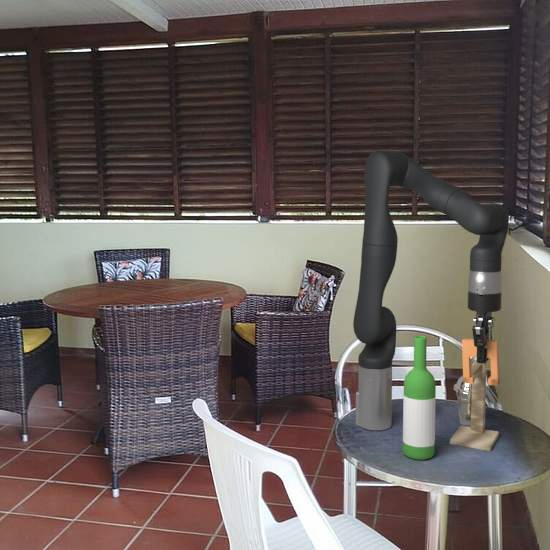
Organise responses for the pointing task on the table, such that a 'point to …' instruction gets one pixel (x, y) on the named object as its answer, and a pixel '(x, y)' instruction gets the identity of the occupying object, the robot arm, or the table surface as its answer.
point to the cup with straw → (464, 400)
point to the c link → (471, 351)
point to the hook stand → (476, 415)
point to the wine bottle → (419, 406)
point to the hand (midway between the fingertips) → (482, 361)
